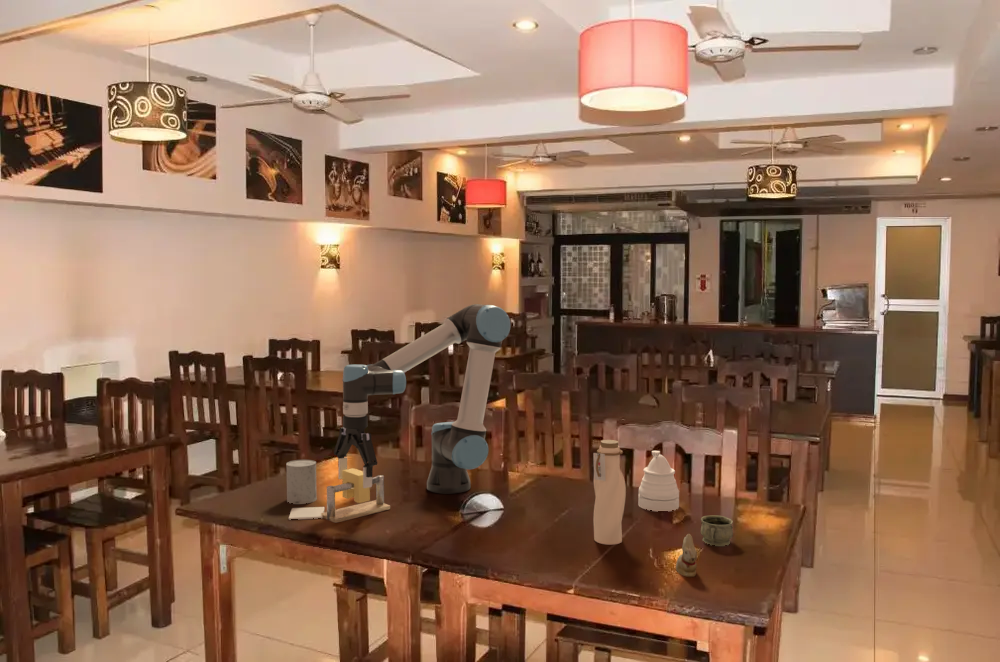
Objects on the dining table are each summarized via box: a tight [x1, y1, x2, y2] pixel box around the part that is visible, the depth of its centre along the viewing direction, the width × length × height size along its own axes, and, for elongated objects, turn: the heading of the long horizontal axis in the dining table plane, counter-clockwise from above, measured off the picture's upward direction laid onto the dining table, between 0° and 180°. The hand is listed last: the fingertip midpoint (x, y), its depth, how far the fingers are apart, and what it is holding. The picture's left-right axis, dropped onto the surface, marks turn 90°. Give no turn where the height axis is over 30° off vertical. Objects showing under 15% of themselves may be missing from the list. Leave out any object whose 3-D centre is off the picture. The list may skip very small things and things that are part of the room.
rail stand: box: [321, 474, 391, 524], centre depth 245 cm, size 20×8×10 cm, turn 134°
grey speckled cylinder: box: [286, 459, 318, 505], centre depth 259 cm, size 10×10×12 cm
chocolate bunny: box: [675, 533, 698, 578], centre depth 198 cm, size 6×8×10 cm
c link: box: [341, 467, 371, 504], centre depth 245 cm, size 9×4×8 cm, turn 44°
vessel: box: [700, 515, 734, 547], centre depth 220 cm, size 12×9×6 cm
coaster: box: [288, 506, 325, 521], centre depth 244 cm, size 10×10×1 cm
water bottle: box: [592, 439, 627, 545], centre depth 220 cm, size 10×9×28 cm
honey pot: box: [637, 450, 680, 512], centre depth 254 cm, size 13×13×18 cm
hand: (354, 482), depth 245 cm, fingers open, 13 cm apart
